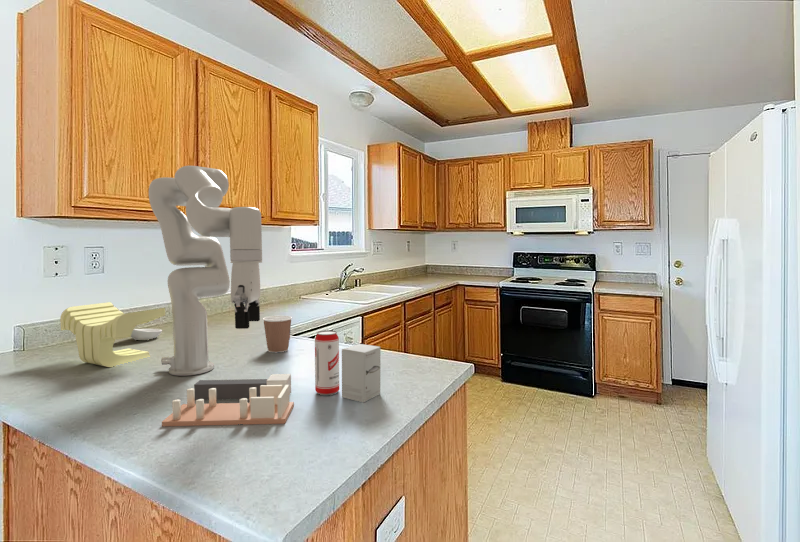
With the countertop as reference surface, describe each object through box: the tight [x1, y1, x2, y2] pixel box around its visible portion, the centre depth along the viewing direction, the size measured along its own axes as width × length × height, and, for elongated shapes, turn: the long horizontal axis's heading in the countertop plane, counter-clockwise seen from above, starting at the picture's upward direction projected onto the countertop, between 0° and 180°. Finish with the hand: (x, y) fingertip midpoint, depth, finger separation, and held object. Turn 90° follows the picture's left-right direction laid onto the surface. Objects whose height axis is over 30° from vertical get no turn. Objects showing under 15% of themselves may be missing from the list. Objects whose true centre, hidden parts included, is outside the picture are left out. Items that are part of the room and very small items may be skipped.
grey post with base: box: [193, 373, 292, 401], centre depth 109 cm, size 23×5×5 cm, turn 93°
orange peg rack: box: [161, 385, 295, 427], centre depth 97 cm, size 26×10×6 cm, turn 93°
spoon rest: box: [130, 328, 163, 341], centre depth 169 cm, size 24×12×7 cm, turn 154°
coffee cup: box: [262, 315, 293, 354], centre depth 155 cm, size 10×10×12 cm
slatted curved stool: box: [59, 301, 166, 368], centre depth 141 cm, size 30×16×18 cm, turn 64°
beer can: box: [314, 329, 340, 396], centre depth 112 cm, size 6×6×16 cm
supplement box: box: [341, 343, 382, 404], centre depth 109 cm, size 7×7×13 cm
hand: (248, 324), depth 108 cm, fingers open, 9 cm apart
